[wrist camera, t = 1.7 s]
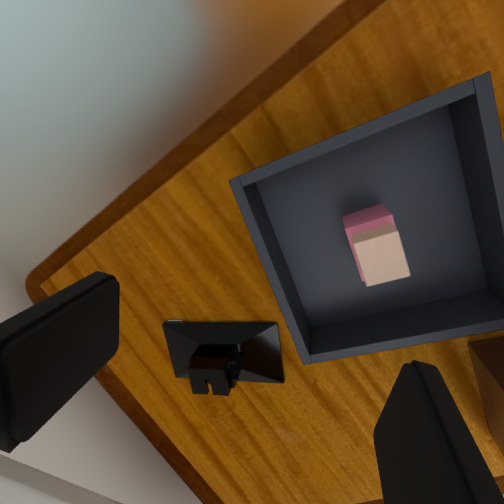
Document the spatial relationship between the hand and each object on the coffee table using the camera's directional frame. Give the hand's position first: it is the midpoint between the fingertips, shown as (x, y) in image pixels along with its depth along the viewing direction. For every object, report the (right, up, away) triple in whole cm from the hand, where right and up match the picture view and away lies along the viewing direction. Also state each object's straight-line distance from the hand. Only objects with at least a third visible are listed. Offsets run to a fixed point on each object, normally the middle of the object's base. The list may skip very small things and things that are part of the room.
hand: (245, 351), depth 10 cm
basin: (+10, +5, +15) cm, 18 cm away
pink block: (+9, +5, +14) cm, 17 cm away
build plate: (-3, -7, +22) cm, 23 cm away
